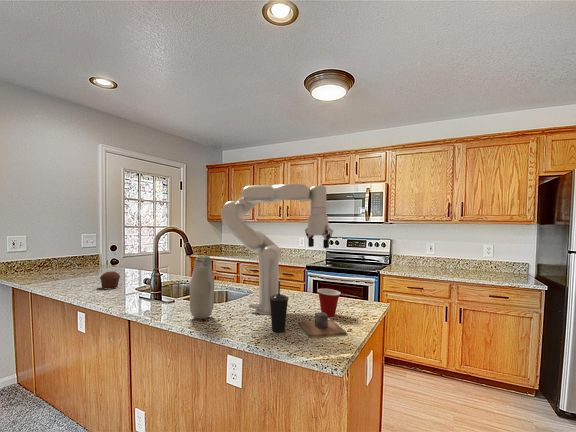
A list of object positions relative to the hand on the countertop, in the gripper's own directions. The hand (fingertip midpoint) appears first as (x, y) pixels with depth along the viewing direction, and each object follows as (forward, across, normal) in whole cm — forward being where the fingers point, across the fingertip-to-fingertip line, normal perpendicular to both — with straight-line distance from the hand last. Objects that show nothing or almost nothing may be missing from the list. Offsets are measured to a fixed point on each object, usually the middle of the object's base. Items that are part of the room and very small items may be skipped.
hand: (318, 247), depth 142 cm
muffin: (+30, -123, -63) cm, 142 cm away
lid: (+31, +16, -16) cm, 38 cm away
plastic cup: (+32, +6, +1) cm, 32 cm away
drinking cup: (+32, +6, -30) cm, 44 cm away
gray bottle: (+31, -29, -45) cm, 62 cm away
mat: (+32, +16, -16) cm, 39 cm away
